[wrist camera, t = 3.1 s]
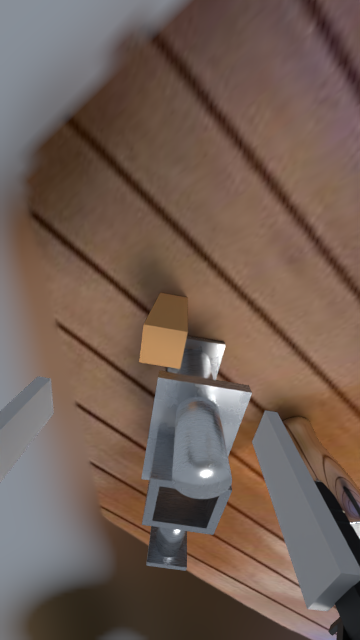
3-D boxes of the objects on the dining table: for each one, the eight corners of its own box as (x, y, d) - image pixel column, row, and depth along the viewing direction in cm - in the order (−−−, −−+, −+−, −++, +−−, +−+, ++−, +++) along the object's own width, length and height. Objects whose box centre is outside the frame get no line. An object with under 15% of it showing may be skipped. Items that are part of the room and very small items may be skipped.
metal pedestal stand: (167, 332, 32) (145, 435, 15) (230, 343, 32) (279, 456, 15) (154, 412, 38) (127, 551, 21) (207, 421, 38) (223, 564, 21)
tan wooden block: (160, 292, 29) (143, 324, 18) (187, 297, 30) (187, 332, 18) (156, 318, 31) (139, 362, 20) (182, 322, 31) (180, 369, 20)
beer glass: (266, 432, 39) (312, 542, 25) (292, 408, 36) (358, 513, 22) (295, 447, 40) (355, 559, 26) (321, 424, 37) (402, 534, 23)
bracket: (157, 432, 24) (150, 478, 20) (223, 443, 25) (232, 490, 20) (142, 514, 30) (134, 563, 26) (195, 521, 31) (197, 572, 26)
